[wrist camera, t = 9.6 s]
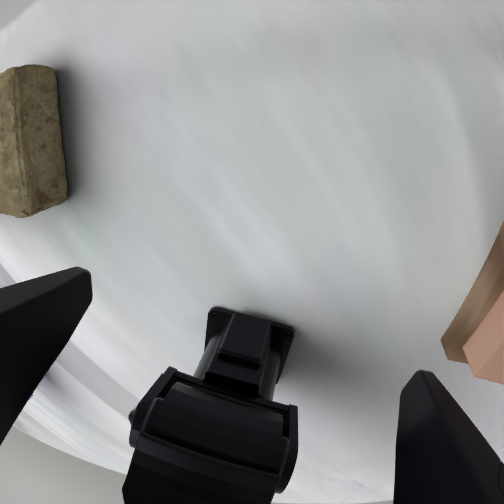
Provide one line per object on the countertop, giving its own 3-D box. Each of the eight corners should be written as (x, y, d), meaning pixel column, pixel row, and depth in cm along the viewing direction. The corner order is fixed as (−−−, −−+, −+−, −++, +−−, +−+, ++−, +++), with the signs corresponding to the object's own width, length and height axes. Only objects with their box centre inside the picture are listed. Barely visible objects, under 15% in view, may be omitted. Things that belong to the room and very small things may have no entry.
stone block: (61, 59, 18) (13, 61, 13) (78, 200, 23) (35, 224, 18) (18, 79, 19) (-27, 86, 14) (34, 203, 24) (-5, 225, 19)
